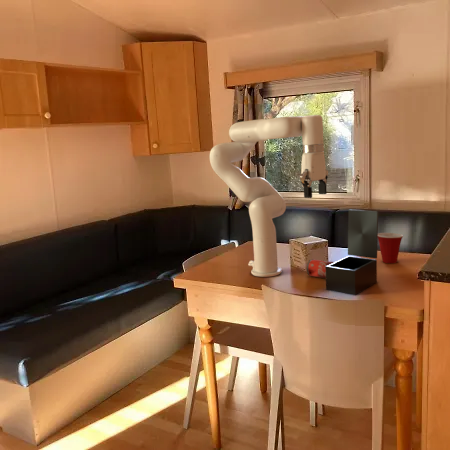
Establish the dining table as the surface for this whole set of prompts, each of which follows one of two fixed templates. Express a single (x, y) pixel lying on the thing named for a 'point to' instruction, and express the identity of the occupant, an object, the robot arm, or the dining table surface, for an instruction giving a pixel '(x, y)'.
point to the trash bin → (351, 275)
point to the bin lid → (363, 233)
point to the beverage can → (317, 268)
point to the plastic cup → (389, 246)
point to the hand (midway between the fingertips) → (315, 195)
